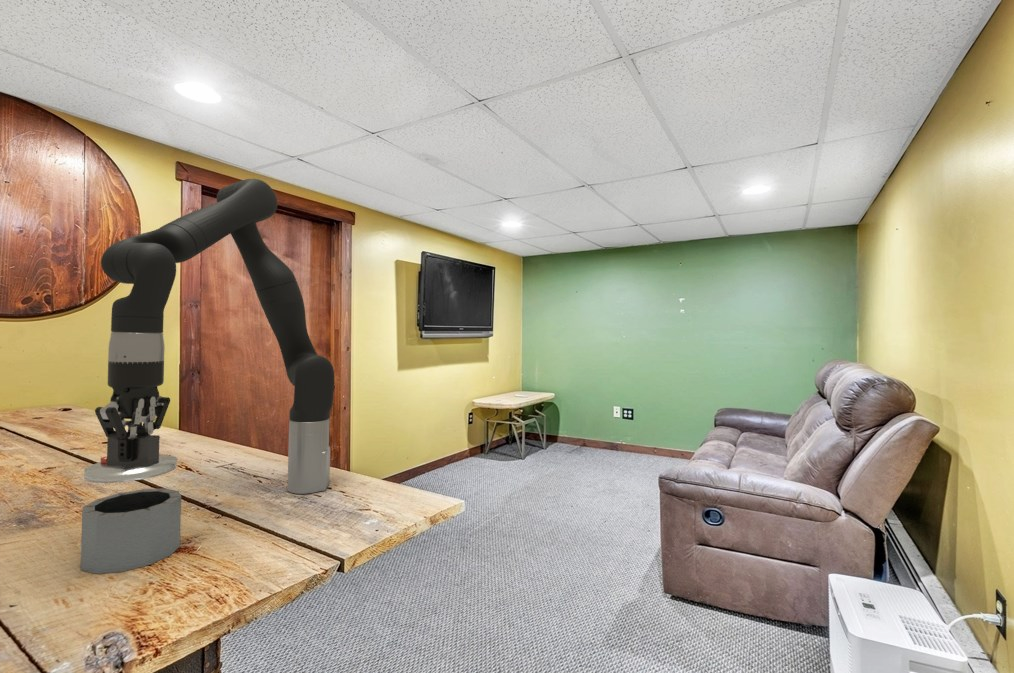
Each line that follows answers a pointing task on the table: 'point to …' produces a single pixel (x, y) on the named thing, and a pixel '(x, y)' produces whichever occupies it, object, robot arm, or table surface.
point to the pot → (130, 530)
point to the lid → (141, 468)
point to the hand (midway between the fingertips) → (134, 458)
